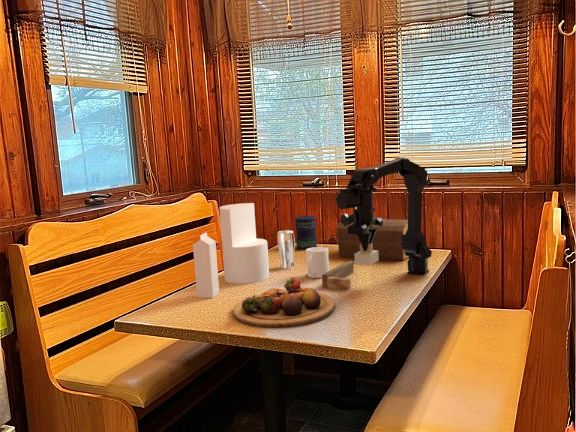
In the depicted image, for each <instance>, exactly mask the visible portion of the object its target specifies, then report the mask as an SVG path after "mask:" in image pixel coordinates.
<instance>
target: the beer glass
mask: <svg viewBox="0 0 576 432" xmlns="http://www.w3.org/2000/svg"><path fill="white" fill-rule="evenodd" d="M295 245H296V238H295V233H294V230H289V229H285V230H280V231H277V246H278V247H277V248H278V251H279V257H280V269H281V270H293V269H295V267H296V265H295V261H294V259H295V258H294V256H295V255H294V254H295V248H296V246H295Z"/></svg>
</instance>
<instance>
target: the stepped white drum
mask: <svg viewBox="0 0 576 432" xmlns="http://www.w3.org/2000/svg"><path fill="white" fill-rule="evenodd" d="M255 215H256V214H255V203H254V202H247V203H246V202H245V203H244V202H243V203H242V202H241V203H234V204H226V205H221V206H219V219H220V220H219V221H220V231H221V233H220V234H221V247H222V257H223V259H222V260H223V261H222V262H223V271H224V280H225V282H227V283H229V284H237V285H238V284H241V285H242V284H244V285H245V284H254V283H259V282H263V281H266V280H268V279H269V278H270V265H269V262H270V261H269V249H268V247H269V246H268V241H267V240H266V239H264V238H257V230H256V229H257V228H256V226H257V225H256V216H255ZM267 278H268V279H267Z"/></svg>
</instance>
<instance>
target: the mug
mask: <svg viewBox="0 0 576 432" xmlns="http://www.w3.org/2000/svg"><path fill="white" fill-rule="evenodd" d="M305 253H306V256H305V257H306V271H307V277H309V278H312V279H322V275H323V274H325V273H326V272H328V271H330V266H329V262H330V261H329V248H328V247H323V246H317V247H313V248H308V249H306V251H305Z"/></svg>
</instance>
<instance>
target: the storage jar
mask: <svg viewBox="0 0 576 432" xmlns="http://www.w3.org/2000/svg"><path fill="white" fill-rule="evenodd" d="M294 221H295V225H294V226H295V234H296V238H295V245H296V250H297V249H299V250H298V251H304V250H306V249H308V248H313V247H318V246H317V244H318V240H317V231H316V230H317V222H316V221H317V220H316V216H315V215H299V216H295V217H294Z"/></svg>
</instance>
